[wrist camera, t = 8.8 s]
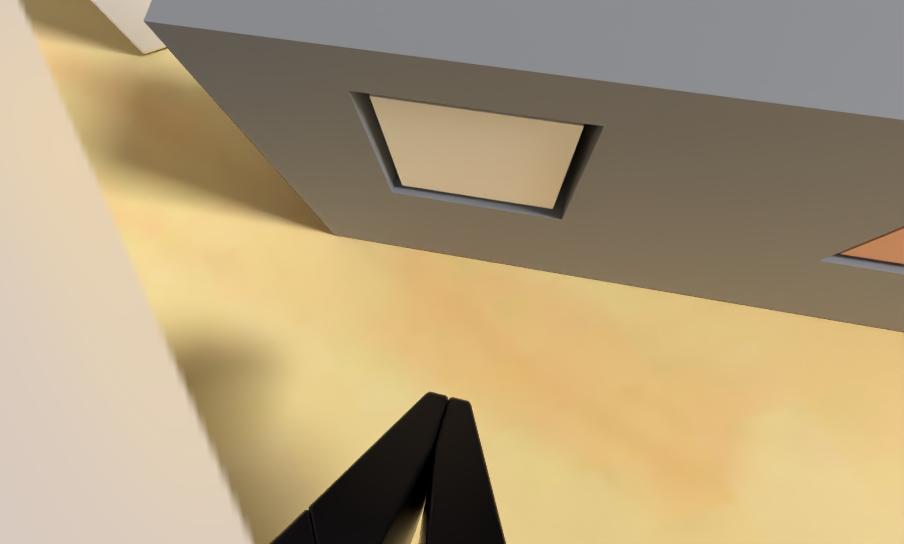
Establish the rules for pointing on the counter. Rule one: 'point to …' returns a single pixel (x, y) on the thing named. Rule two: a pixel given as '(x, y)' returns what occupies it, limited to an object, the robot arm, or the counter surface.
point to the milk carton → (131, 22)
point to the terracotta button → (881, 247)
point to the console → (595, 132)
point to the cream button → (477, 150)
